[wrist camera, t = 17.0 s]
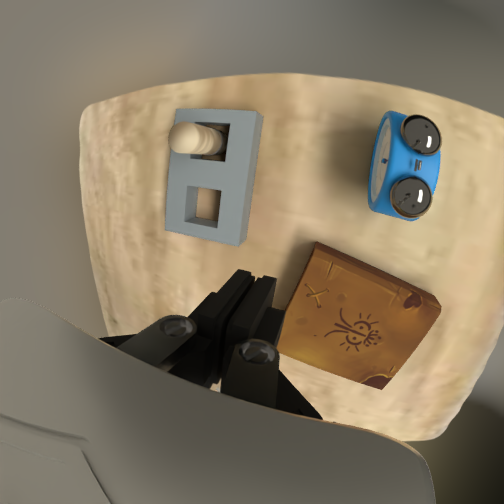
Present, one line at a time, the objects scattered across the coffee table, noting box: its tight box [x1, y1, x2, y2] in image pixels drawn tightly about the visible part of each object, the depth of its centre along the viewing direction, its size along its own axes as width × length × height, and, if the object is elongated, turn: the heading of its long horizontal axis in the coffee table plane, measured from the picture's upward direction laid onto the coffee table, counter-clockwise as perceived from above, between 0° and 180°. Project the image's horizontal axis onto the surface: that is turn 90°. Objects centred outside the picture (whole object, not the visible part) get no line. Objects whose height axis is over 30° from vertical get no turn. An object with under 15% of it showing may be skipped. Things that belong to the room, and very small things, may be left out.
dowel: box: [168, 121, 228, 155], centre depth 35 cm, size 4×4×12 cm
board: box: [165, 109, 263, 246], centre depth 41 cm, size 20×13×4 cm, turn 172°
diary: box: [277, 242, 441, 390], centre depth 41 cm, size 23×19×6 cm
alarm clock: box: [368, 111, 442, 221], centre depth 28 cm, size 13×6×15 cm, turn 172°
